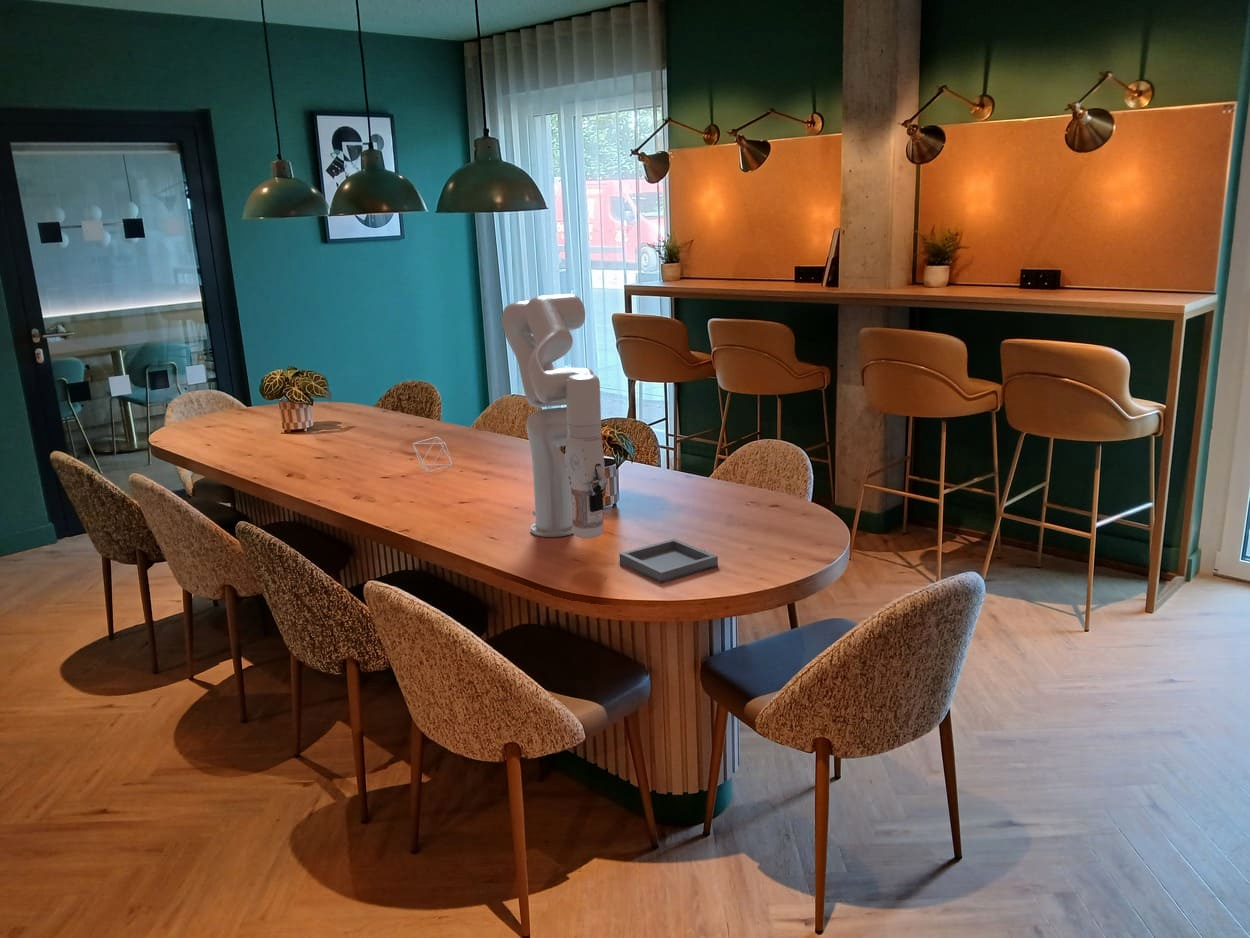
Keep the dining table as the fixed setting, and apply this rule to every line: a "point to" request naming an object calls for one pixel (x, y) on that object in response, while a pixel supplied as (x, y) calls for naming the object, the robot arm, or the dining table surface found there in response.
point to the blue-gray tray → (668, 560)
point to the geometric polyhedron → (428, 451)
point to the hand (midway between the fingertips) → (587, 505)
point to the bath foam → (584, 512)
